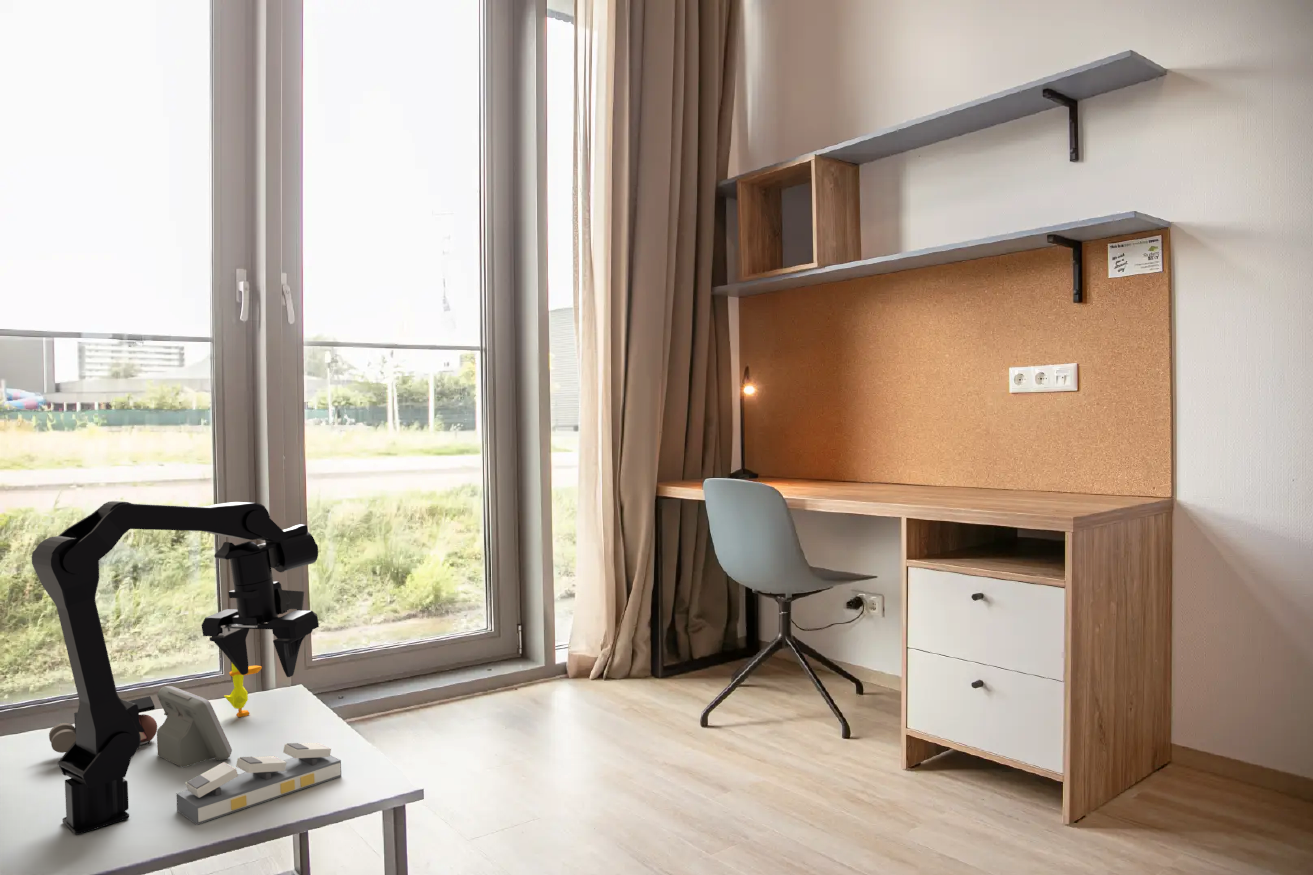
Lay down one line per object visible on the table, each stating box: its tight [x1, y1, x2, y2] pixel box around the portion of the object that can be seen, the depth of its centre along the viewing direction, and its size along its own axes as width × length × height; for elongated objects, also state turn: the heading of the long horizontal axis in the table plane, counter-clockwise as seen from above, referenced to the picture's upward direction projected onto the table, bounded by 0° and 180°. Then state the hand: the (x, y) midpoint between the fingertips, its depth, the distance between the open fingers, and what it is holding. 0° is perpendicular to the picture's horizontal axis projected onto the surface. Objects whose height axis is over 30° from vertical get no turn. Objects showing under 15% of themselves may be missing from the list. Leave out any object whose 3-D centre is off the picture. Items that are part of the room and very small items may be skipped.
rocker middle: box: [235, 755, 287, 773], centre depth 132 cm, size 6×4×1 cm
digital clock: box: [156, 685, 233, 768], centre depth 149 cm, size 16×9×11 cm, turn 39°
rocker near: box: [185, 761, 239, 798], centre depth 127 cm, size 6×4×1 cm
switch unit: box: [175, 754, 342, 825], centre depth 132 cm, size 21×7×3 cm, turn 138°
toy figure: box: [223, 661, 263, 718], centre depth 169 cm, size 7×4×12 cm, turn 127°
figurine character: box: [48, 695, 158, 754], centre depth 152 cm, size 7×8×15 cm
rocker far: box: [282, 742, 332, 758], centre depth 137 cm, size 6×4×1 cm
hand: (267, 675), depth 145 cm, fingers open, 9 cm apart
